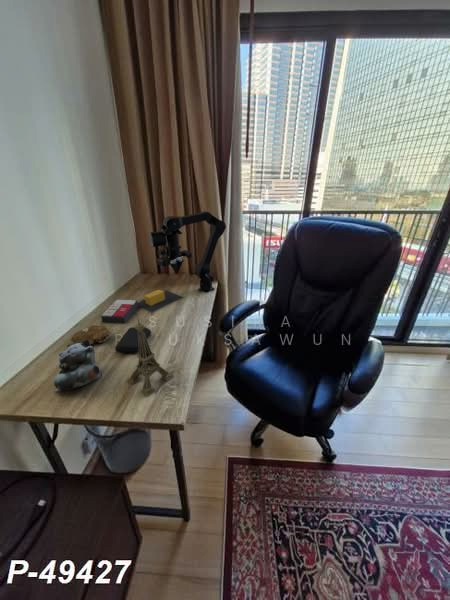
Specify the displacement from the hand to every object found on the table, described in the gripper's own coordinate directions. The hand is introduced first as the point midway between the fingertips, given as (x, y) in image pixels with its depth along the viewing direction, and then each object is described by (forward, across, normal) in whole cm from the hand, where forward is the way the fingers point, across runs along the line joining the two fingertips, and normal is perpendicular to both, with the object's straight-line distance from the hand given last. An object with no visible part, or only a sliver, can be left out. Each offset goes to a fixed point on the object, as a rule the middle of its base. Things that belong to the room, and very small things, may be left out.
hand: (176, 273), depth 129 cm
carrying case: (+13, +38, +17) cm, 44 cm away
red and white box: (+13, +30, -8) cm, 33 cm away
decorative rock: (+13, +47, +1) cm, 49 cm away
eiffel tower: (+13, +46, +38) cm, 61 cm away
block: (+10, +7, -5) cm, 14 cm away
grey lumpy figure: (+13, +61, +20) cm, 66 cm away
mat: (+13, +10, -4) cm, 17 cm away
